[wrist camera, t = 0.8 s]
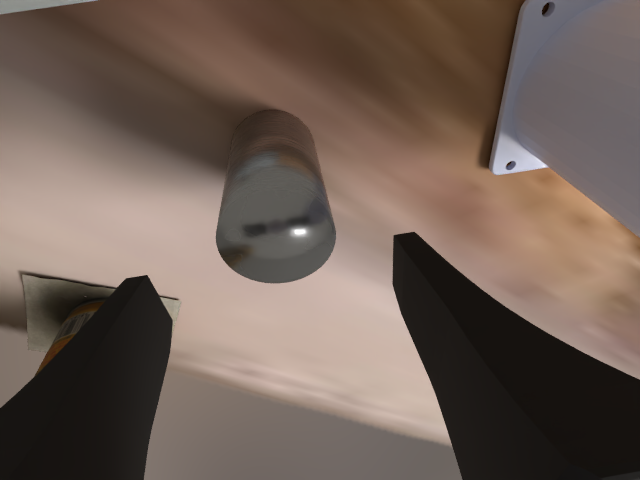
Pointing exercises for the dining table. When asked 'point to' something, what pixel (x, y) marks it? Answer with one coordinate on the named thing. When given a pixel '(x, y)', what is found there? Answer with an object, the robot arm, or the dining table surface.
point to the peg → (274, 202)
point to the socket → (33, 4)
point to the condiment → (64, 311)
